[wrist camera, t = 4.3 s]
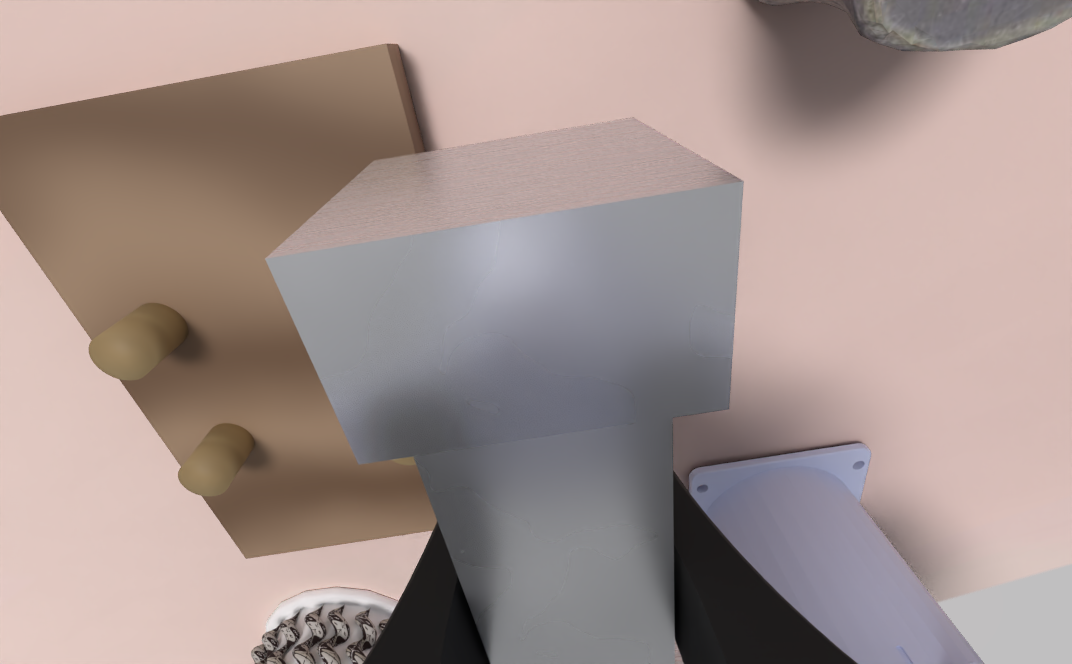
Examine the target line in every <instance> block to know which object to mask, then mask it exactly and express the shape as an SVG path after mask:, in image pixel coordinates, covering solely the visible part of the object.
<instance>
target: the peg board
mask: <svg viewBox="0 0 1072 664" xmlns="http://www.w3.org/2000/svg"><path fill="white" fill-rule="evenodd" d="M422 152H425V149H424V145H423V141H422V137H421V133H420V129H419V125H418V122H417V118H416V114H415V110H414V106H413V102H412V98H411V95H410V91H409V87H408V83H407V79H406V75H405V71H404V68H403V64H402V60H401V56H400V52H399V48H398V44H382V45H376V46H371V47H366V48H360V49H355V50H350V51H344V52H339V53H334V54H328V55H323V56H318V57H312V58H307V59H302V60H296V61H291V62H286V63H280V64H275V65H270V66H264V67H259V68H254V69H248V70H243V71H238V72H232V73H227V74H221V75H216V76H211V77H205V78H200V79H195V80H189V81H184V82H179V83H173V84H168V85H163V86H157V87H152V88H147V89H141V90H136V91H131V92H125V93H120V94H115V95H109V96H104V97H99V98H93V99H88V100H83V101H77V102H72V103H67V104H61V105H56V106H50V107H45V108H40V109H34V110H29V111H24V112H18V113H13V114H8V115H2V116H0V211H1V212H2V214H3V215H4V216H5V218H6V219H7V221H8V222H9V224H10V225H11V226H12V228H13V229H14V231H15V232H16V233H17V235H18V236H19V238H20V239H21V241H22V242H23V243H24V245H25V246H26V248H27V249H28V250H29V252H30V253H31V255H32V256H33V258H34V259H35V260H36V262H37V263H38V265H39V266H40V267H41V269H42V270H43V272H44V273H45V275H46V276H47V277H48V279H49V280H50V282H51V283H52V284H53V286H54V287H55V289H56V290H57V292H58V293H59V294H60V296H61V297H62V299H63V300H64V301H65V303H66V304H67V306H68V307H69V309H70V310H71V311H72V313H73V314H74V316H75V317H76V318H77V320H78V321H79V323H80V324H81V326H82V327H83V328H84V330H85V331H86V333H87V334H88V335H89V337H90V338H91V340H92V341H91V343H90V345H89V354H90V357H91V359H92V361H93V362H94V363H95V365H96V366H97V367H98V368H99V369H100V370H102V371H103V372H105V373H106V374H108V375H110V376H112V377H114V378H117V379H120V381H121V382H122V384H123V385H124V386H125V388H126V389H127V391H128V392H129V394H130V395H131V396H132V398H133V399H134V401H135V402H136V403H137V405H138V406H139V408H140V409H141V411H142V412H143V413H144V415H145V416H146V418H147V419H148V420H149V422H150V423H151V425H152V426H153V428H154V429H155V430H156V432H157V433H158V435H159V436H160V437H161V439H162V440H163V442H164V443H165V445H166V446H167V447H168V449H169V450H170V452H171V453H172V454H173V456H174V457H175V459H176V460H177V462H178V463H179V464H180V466H181V468H180V470H179V472H178V478H179V481H180V483H181V484H182V485H183V486H184V487H185V488H186V489H187V490H189V491H191V492H193V493H195V494H198V495H201V496H202V497H203V498H204V500H205V501H206V503H207V504H208V505H209V507H210V508H211V510H212V511H213V513H214V514H215V515H216V517H217V518H218V520H219V521H220V522H221V524H222V525H223V527H224V528H225V530H226V531H227V532H228V534H229V535H230V537H231V538H232V539H233V541H234V542H235V544H236V545H237V547H238V548H239V549H240V551H241V552H242V554H243V555H244V556H245V558H246V559H247V558H253V557H260V556H267V555H273V554H280V553H287V552H293V551H300V550H306V549H313V548H320V547H326V546H333V545H340V544H346V543H353V542H359V541H366V540H373V539H379V538H386V537H393V536H399V535H406V534H412V533H419V532H426V531H432V530H434V527H435V525H436V523H437V519H436V516H435V513H434V511H433V508H432V505H431V503H430V500H429V497H428V495H427V492H426V489H425V487H424V484H423V481H422V479H421V476H420V473H419V471H418V468H417V465H416V463H415V460H414V457H407V458H400V459H393V460H386V461H380V462H373V463H366V464H360V465H359V464H358V462H357V460H356V458H355V456H354V453H353V451H352V449H351V447H350V445H349V442H348V440H347V438H346V436H345V434H344V431H343V429H342V427H341V425H340V423H339V420H338V418H337V416H336V414H335V412H334V409H333V407H332V405H331V403H330V401H329V398H328V396H327V394H326V392H325V390H324V387H323V385H322V383H321V381H320V379H319V376H318V374H317V372H316V370H315V368H314V365H313V363H312V361H311V359H310V357H309V354H308V352H307V350H306V348H305V346H304V343H303V341H302V339H301V337H300V335H299V332H298V330H297V328H296V326H295V324H294V321H293V319H292V317H291V315H290V313H289V310H288V308H287V306H286V304H285V302H284V300H283V297H282V295H281V293H280V291H279V289H278V286H277V284H276V282H275V280H274V278H273V275H272V273H271V271H270V269H269V267H268V264H267V262H266V260H265V258H266V257H267V256H269V255H270V254H271V253H272V252H273V251H274V250H275V249H276V248H277V247H278V246H280V245H281V244H282V243H283V242H284V241H285V240H286V239H287V238H288V237H290V236H291V235H292V234H293V233H294V232H295V231H296V230H297V229H298V228H300V227H301V226H302V225H303V224H304V223H305V222H306V221H307V220H308V219H310V218H311V217H312V216H313V215H314V214H315V213H316V212H317V211H318V210H319V209H321V208H322V207H323V206H324V205H325V204H326V203H327V202H328V201H329V200H331V199H332V198H333V197H334V196H335V195H336V194H337V193H338V192H339V191H341V190H342V189H343V188H344V187H345V186H346V185H347V184H348V183H349V182H351V181H352V180H353V179H354V178H355V177H356V176H357V175H358V174H359V173H360V172H362V171H363V170H364V169H365V168H366V167H367V166H368V165H369V164H370V163H372V162H373V161H374V160H380V159H386V158H392V157H398V156H404V155H410V154H416V153H422Z"/></svg>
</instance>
